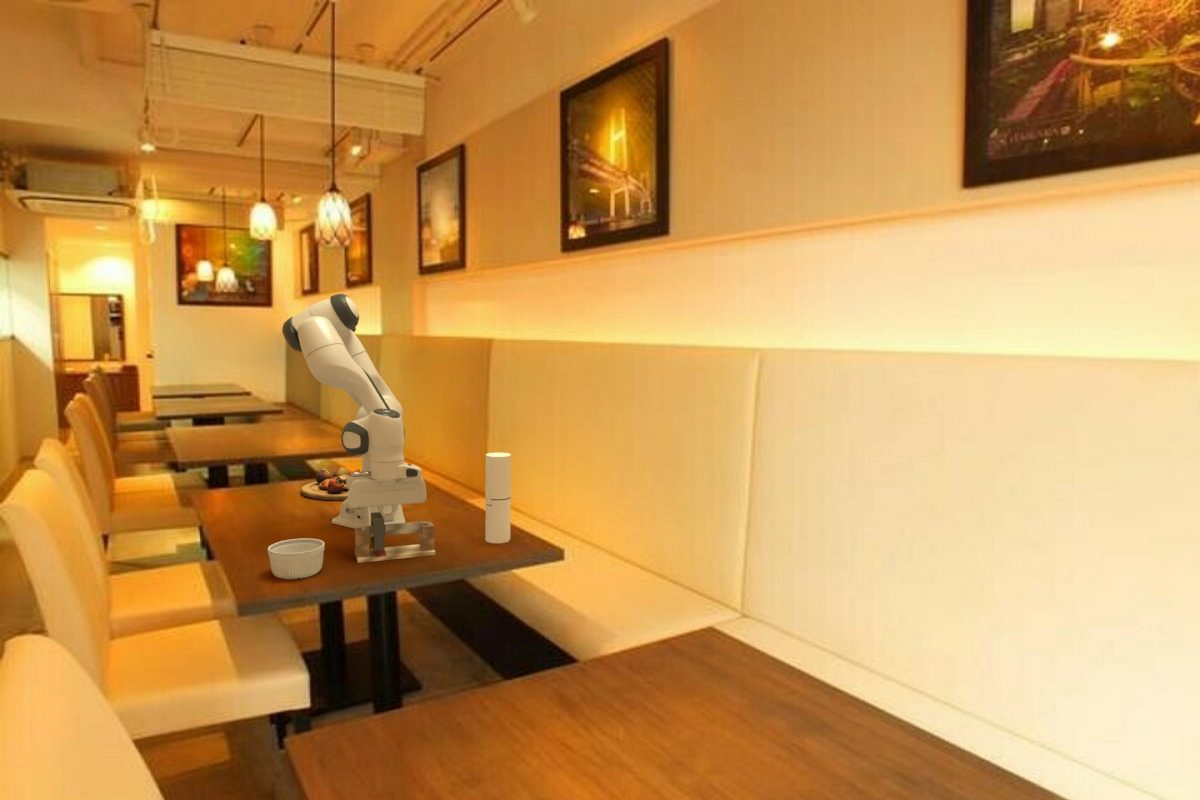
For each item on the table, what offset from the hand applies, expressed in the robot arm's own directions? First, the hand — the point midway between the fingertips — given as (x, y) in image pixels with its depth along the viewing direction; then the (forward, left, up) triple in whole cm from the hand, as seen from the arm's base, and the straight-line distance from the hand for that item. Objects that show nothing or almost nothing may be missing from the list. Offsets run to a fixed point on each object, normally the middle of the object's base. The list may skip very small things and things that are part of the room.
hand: (387, 521), depth 204 cm
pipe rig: (+1, +1, -9) cm, 9 cm away
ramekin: (-12, -21, -10) cm, 26 cm away
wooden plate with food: (-61, +56, -10) cm, 83 cm away
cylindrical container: (+19, +25, -10) cm, 33 cm away
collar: (-2, -2, -6) cm, 7 cm away
